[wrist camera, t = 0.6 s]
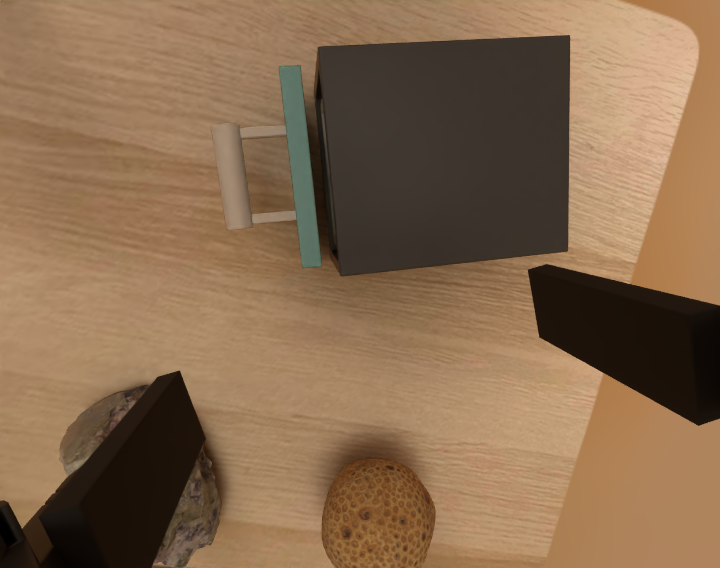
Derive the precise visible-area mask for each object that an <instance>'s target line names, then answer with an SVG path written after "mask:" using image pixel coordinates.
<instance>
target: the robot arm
mask: <svg viewBox="0 0 720 568" xmlns="http://www.w3.org/2000/svg"><path fill="white" fill-rule="evenodd" d="M528 274H529V279H530V285H531V291H532V297H533V303H534V309H535V314H536V320H537V326H538V332H539V337H540V338H542V339H544V340H545V341H547V342H549V343H551V344H553V345H554V346H556V347H558V348H560V349H562V350H563V351H565V352H567V353H569V354H571V355H572V356H574V357H576V358H578V359H580V360H581V361H583V362H585V363H587V364H589V365H590V366H592V367H594V368H596V369H598V370H599V371H601V372H603V373H605V374H607V375H608V376H610V377H612V378H614V379H616V380H617V381H619V382H621V383H623V384H624V385H627V386H628V387H630V388H632V389H633V390H636V391H637V392H639V393H641V394H642V395H644V396H646V397H648V398H650V399H652V400H653V401H655V402H657V403H659V404H660V405H662V406H664V407H666V408H668V409H670V410H671V411H673V412H675V413H677V414H679V415H680V416H682V417H684V418H686V419H688V420H689V421H691V422H693V423H695V424H696V425H698V426H699V425H702V424H705V423H708V422H711V421H714V420H717V419H720V306H719V305H715V304H711V303H707V302H702V301H698V300H694V299H689V298H685V297H681V296H677V295H673V294H669V293H665V292H661V291H656V290H652V289H648V288H644V287H640V286H636V285H631V284H627V283H623V282H619V281H615V280H611V279H606V278H602V277H598V276H594V275H590V274H586V273H581V272H577V271H573V270H569V269H565V268H561V267H556V266H552V265H548V264H546V265H542V266H539V267H535V268H532V269H528ZM205 439H206V438H205V436H204V433H203V430H202V428H201V425H200V423H199V420H198V417H197V415H196V412H195V409H194V407H193V404H192V402H191V399H190V396H189V394H188V391H187V388H186V386H185V383H184V381H183V378H182V375H181V373H180V371H176V372H173V373H169V374H166V375H162V376H159V377H157V378H156V380H155V381H154V382H153V383H152V384H151V385H150V387H149V388H148V389H147V390H146V391H145V392H144V394H143V395H142V396H141V397H140V398H139V399H138V401H137V402H136V403H135V404H134V405H133V406H132V408H131V409H130V410H129V411H128V412H127V413H126V415H125V416H124V417H123V418H122V419H121V421H120V422H119V423H118V424H117V425H116V426H115V428H114V429H113V430H112V431H111V432H110V433H109V435H108V436H107V437H106V438H105V439H104V440H103V442H102V443H101V444H100V445H99V446H98V447H97V449H96V450H95V451H94V452H93V453H92V454H91V456H90V457H89V458H88V459H87V460H86V462H85V463H84V464H83V465H82V466H81V467H79V468H78V469H77V470H76V471H74V472H73V473H72V474H71V475H69V476H68V477H67V478H66V479H65V480H64V482H63V483H62V484H61V485H60V486H59V487H58V488H57V490H56V493H54V494H52V495H51V497H50V498H49V499H48V500H47V501H46V502H45V505H44V506H42V507H41V508H40V509H39V510H38V511H37V513H36V514H35V515H34V516H33V517H32V518H31V519H30V521H29V522H28V523H27V524H26V525H25V526H24V527H23V529H22V528H21V526H20V524H19V522H18V520H17V519H16V517H15V515H14V513H13V511H12V509H11V507H10V505H9V503H8V502H6V501H4V500H3V501H0V568H151V567H152V565H153V563H154V560H155V558H156V555H157V553H158V551H159V548H160V546H161V544H162V541H163V539H164V536H165V534H166V532H167V529H168V527H169V525H170V522H171V520H172V517H173V515H174V513H175V510H176V508H177V506H178V503H179V501H180V498H181V496H182V494H183V491H184V489H185V487H186V484H187V482H188V479H189V477H190V475H191V472H192V470H193V468H194V465H195V463H196V460H197V458H198V456H199V453H200V451H201V449H202V446H203V444H204V441H205Z"/></svg>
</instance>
